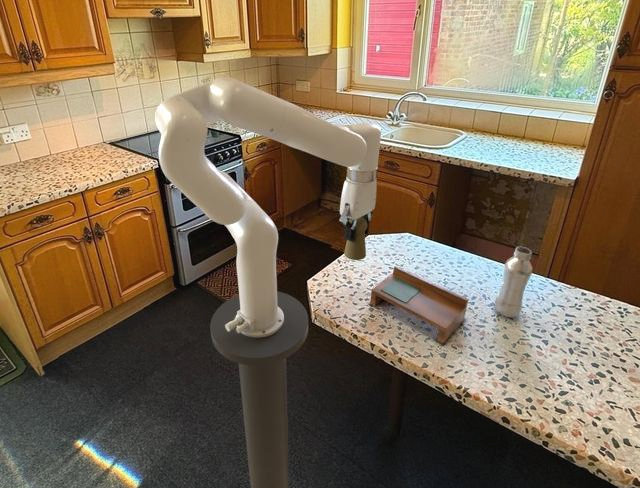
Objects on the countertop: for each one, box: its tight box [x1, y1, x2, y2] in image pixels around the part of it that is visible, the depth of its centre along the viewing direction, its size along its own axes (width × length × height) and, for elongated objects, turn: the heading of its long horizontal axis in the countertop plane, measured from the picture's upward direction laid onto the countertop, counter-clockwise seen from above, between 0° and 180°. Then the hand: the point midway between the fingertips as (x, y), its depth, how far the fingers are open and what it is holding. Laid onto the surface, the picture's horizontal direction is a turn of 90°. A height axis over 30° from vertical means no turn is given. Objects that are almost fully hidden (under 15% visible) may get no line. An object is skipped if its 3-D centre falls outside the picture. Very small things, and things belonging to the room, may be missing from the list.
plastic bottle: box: [494, 246, 533, 318], centre depth 105 cm, size 6×7×20 cm
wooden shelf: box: [369, 265, 470, 345], centre depth 108 cm, size 12×22×7 cm, turn 46°
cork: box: [343, 217, 367, 261], centre depth 108 cm, size 6×6×11 cm
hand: (356, 235), depth 108 cm, fingers closed on cork, 5 cm apart
